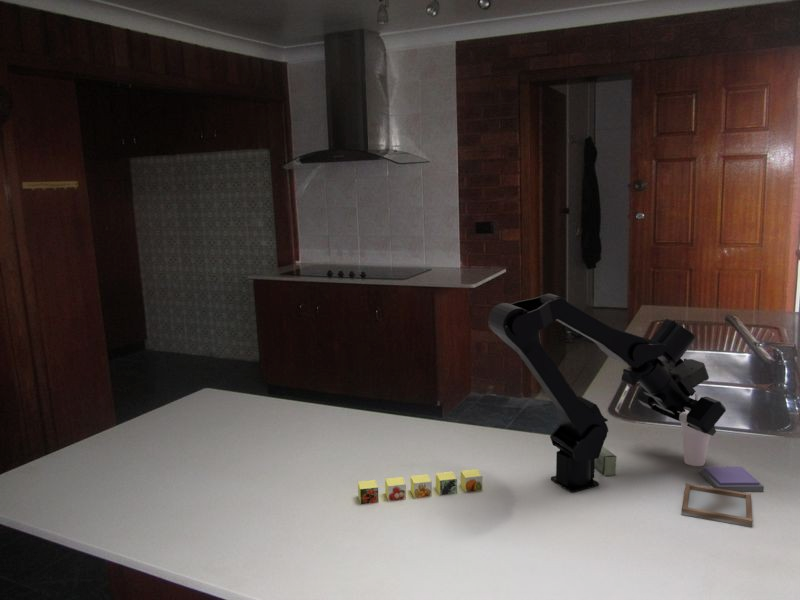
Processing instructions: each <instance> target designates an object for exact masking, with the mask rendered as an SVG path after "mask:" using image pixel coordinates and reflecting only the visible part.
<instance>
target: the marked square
mask: <svg viewBox="0 0 800 600" xmlns="http://www.w3.org/2000/svg"><path fill="white" fill-rule="evenodd" d="M684 485H685V486H684V491H683V497H682V505H681V512H680V513H681V516H687V517H692V518H698V519H699V518H700V519H704V520H709V521H715V522H720V523H726V524H727V523H728V524H732V525H737V526H744V527H749V528H753V521H754V520H753V519H754V518H753V505H752V504H753V503H752V502H753V501H752V493H749V492H737V491H731V490H725V489H718V488H714V487H713V486H705V485H698V484H692V483H685V484H684Z"/></svg>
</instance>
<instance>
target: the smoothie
mask: <svg viewBox="0 0 800 600" xmlns="http://www.w3.org/2000/svg"><path fill="white" fill-rule="evenodd" d="M694 400H697V401H698V400H699V393H694ZM685 411H686V412H682V413H680V415H679V420H680V421H681V422H680V421H679V422H680V429H681V438H682V451H683V462H684V463H685V464H687V465H688V466H692V467H702V466H704V465H705V463H706V458H707V453H708V448H709V442H710V437H711V435H709V434H706V433H703V432H701V431H698V430H695V429H693V428H691V427H689V426H687V425H688V423H687V422H686V420H687V414H688V413H689V412H690V411H688V410H685Z"/></svg>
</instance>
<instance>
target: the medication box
mask: <svg viewBox="0 0 800 600" xmlns="http://www.w3.org/2000/svg"><path fill="white" fill-rule="evenodd" d="M616 467H617V455H615V454H614V453H613V452H611V451H610V450H609V449H607V448H606V447H604V445H603V446H602V449H601V452H600V455H599V458H597V459H595V470H596V471H597V472H598V473H599V474H600V475H601V476H602V477H607V476H609V477H610V476H615V475H616V469H617V468H616Z"/></svg>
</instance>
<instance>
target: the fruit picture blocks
mask: <svg viewBox="0 0 800 600" xmlns="http://www.w3.org/2000/svg"><path fill="white" fill-rule="evenodd" d="M409 477H410V481H409V482H410V492H411V494H412V496H413V498H414V499H421V498H431V497H432V496H433V491H432V490H433V488H432V487H433V486H432V485H433V484H432V479H431V478H430V476H429V475H428V474H427V473H425V474H416V475H410V476H409ZM483 485H484V484H483V474H481V472H480V470H478V468H474V469H473V468H472V469H464V470H460V486H461V488H462V489H463V491H464V492H465V493H474V492H482V491H484V490H483ZM384 489H385V490H384V491H385V496H386V498H387V501H388V502H394V501H404V500H407V484H406V482H405V479H404V478H403V476H400V477H399V476H398V477H390V478H389V477H387V478H384ZM435 489H436V490H437V492H438V494H439V495H440V496H449V495H456V494H458V477H457V476H456V474H454V472H453V471H446V472H445V471H444V472H436V473H435ZM357 497H358V500H359V503H360V505H369V504H370V505H371V504H377V503H379V486H378V482H377V480H376V479H370V480H361V481H360V480H359V481H357Z"/></svg>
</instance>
